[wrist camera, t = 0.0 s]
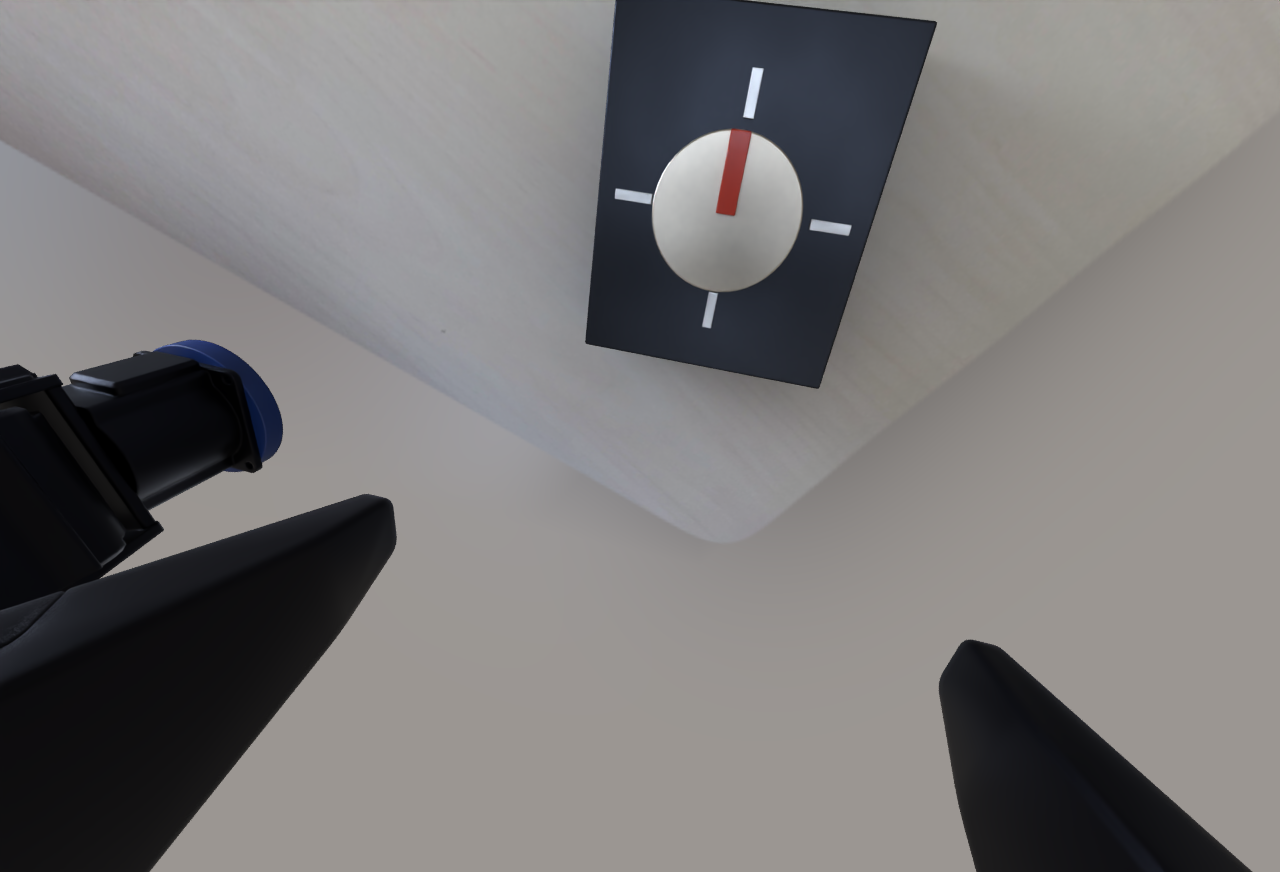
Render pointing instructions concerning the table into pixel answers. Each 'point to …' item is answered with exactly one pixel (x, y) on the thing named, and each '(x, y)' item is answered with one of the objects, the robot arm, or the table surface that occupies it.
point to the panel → (777, 109)
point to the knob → (727, 210)
